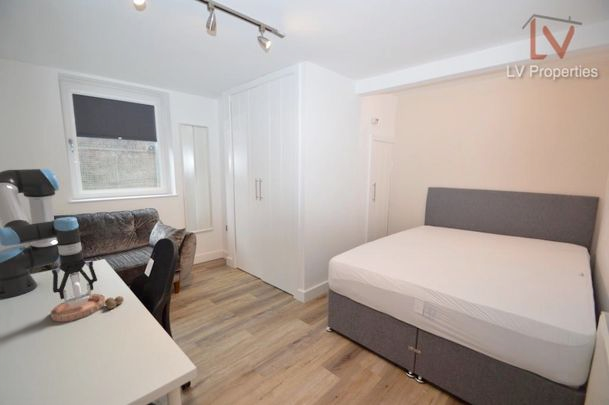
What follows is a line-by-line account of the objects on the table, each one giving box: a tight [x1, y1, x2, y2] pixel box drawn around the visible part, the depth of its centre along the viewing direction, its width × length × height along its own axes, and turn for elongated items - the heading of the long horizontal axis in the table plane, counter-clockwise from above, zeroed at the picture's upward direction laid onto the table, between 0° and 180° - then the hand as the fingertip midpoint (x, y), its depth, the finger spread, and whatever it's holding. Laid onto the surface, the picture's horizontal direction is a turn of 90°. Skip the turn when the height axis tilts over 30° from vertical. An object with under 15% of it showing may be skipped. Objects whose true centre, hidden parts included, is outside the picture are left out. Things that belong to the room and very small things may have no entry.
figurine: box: [67, 272, 89, 309], centre depth 115 cm, size 7×9×15 cm
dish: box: [50, 293, 106, 323], centre depth 116 cm, size 19×18×3 cm
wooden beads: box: [104, 296, 124, 310], centre depth 119 cm, size 7×7×4 cm
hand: (78, 300), depth 116 cm, fingers closed on figurine, 7 cm apart
